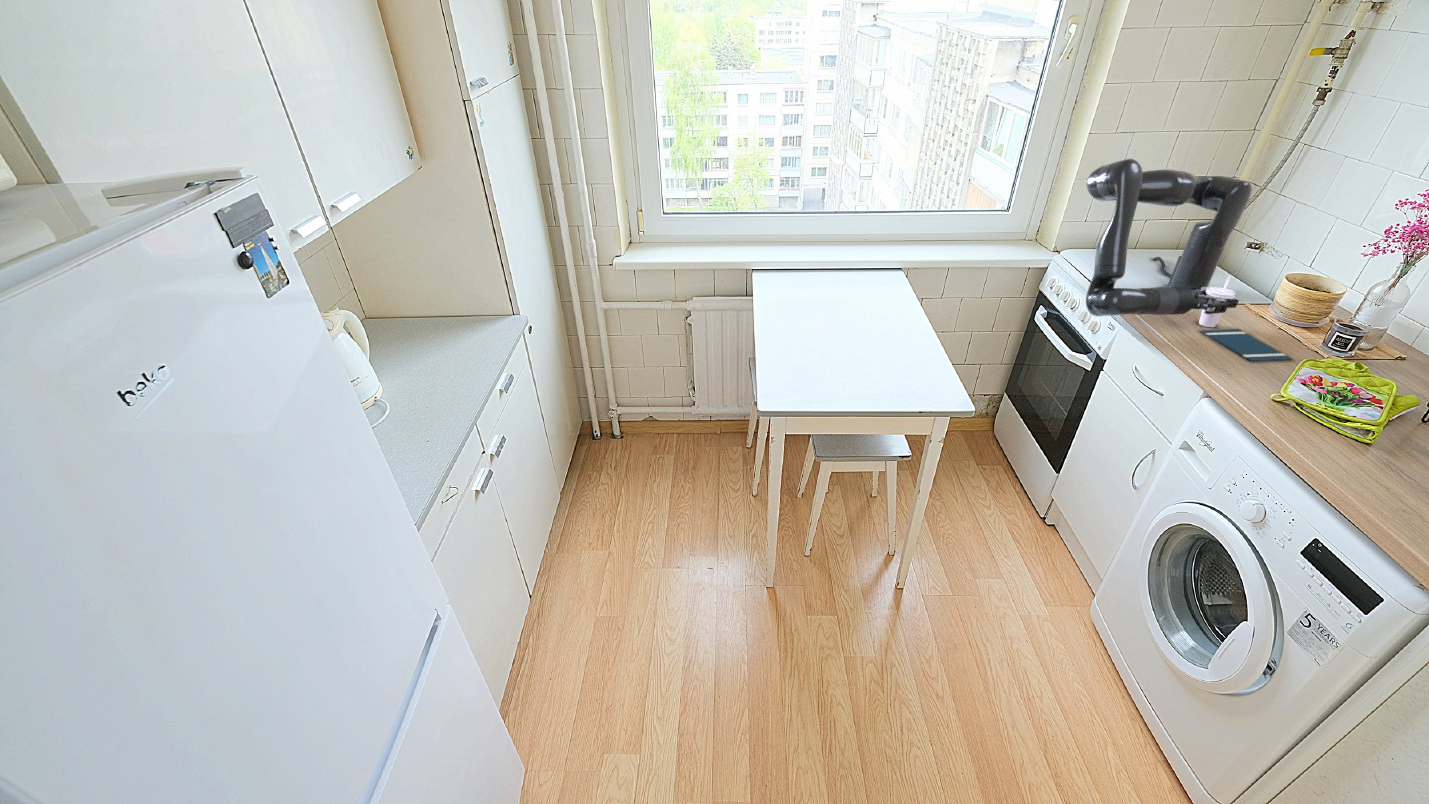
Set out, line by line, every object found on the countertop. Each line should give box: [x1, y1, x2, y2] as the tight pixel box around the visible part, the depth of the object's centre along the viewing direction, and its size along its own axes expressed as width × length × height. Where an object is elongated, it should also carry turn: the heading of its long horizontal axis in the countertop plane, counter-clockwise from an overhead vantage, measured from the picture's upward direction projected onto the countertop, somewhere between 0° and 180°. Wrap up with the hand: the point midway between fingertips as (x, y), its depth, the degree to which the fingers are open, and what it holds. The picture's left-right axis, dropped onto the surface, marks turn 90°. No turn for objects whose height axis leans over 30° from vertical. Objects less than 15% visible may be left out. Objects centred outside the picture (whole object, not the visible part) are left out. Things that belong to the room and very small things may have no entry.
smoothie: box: [1198, 274, 1236, 328], centre depth 170 cm, size 6×6×14 cm
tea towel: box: [1200, 328, 1293, 362], centre depth 162 cm, size 17×10×1 cm, turn 4°
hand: (1226, 298), depth 170 cm, fingers closed on smoothie, 6 cm apart
